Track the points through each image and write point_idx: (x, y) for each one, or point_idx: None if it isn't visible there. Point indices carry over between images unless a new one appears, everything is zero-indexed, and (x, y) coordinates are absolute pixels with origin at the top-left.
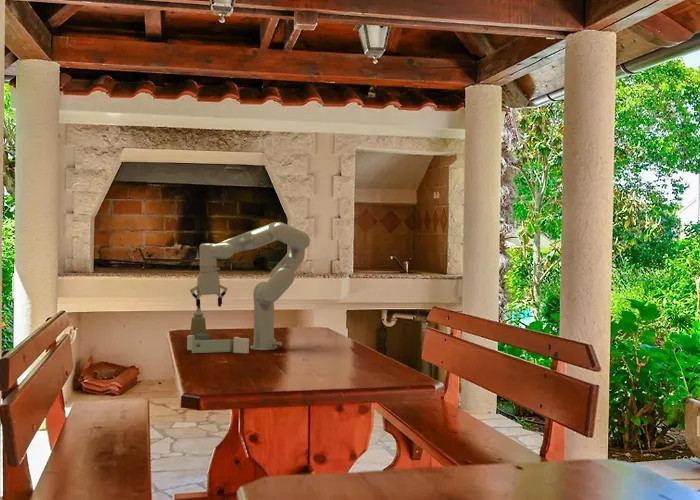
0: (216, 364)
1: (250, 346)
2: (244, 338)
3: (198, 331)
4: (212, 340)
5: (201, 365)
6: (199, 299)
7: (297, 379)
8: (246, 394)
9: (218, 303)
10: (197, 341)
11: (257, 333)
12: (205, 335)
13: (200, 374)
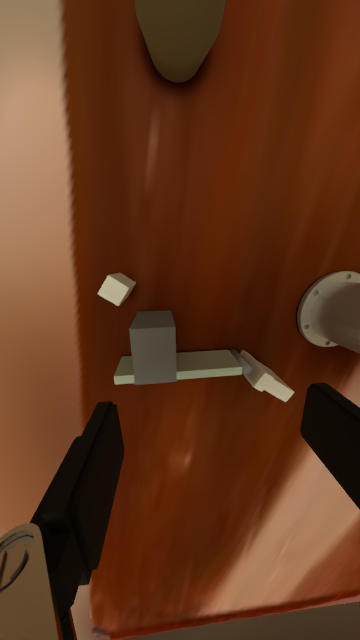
0: (161, 487)
1: (302, 310)
2: (282, 389)
3: (175, 33)
4: (183, 378)
5: (131, 493)
6: (86, 580)
7: (247, 574)
8: (163, 627)
9: (325, 427)
10: (132, 381)
11: (352, 345)
12: (161, 382)
13: (121, 553)
